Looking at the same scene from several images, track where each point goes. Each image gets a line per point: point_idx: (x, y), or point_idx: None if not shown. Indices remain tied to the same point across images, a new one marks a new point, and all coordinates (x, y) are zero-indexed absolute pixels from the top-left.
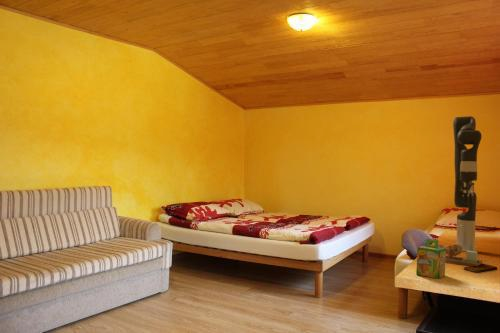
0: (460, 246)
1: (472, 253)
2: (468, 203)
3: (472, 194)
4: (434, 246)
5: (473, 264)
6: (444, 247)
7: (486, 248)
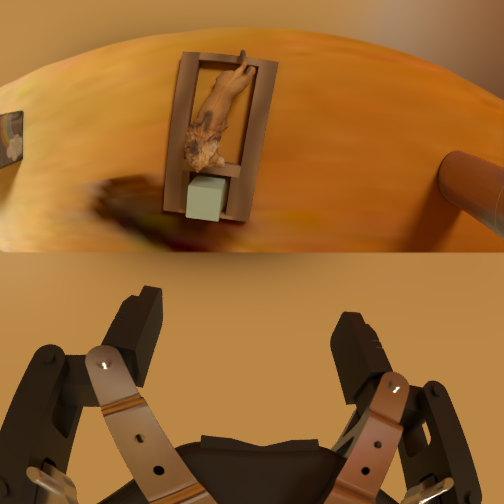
0: (194, 166)
1: (188, 205)
2: (160, 329)
3: (347, 424)
4: None
5: (164, 200)
6: (206, 101)
7: (495, 233)
